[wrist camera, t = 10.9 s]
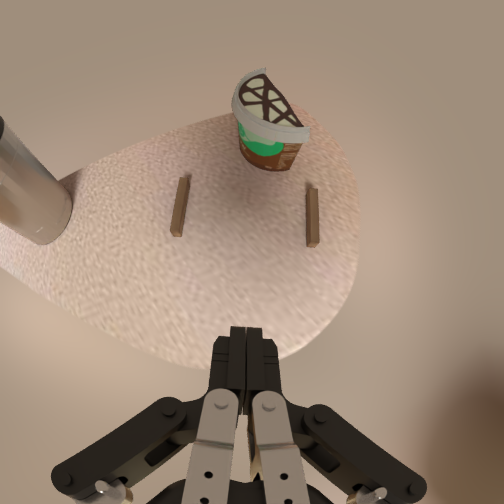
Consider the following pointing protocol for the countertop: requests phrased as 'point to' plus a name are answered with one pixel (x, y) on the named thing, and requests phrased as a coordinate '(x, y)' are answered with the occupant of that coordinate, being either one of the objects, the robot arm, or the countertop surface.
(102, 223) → the countertop surface
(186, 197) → the slot rails
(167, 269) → the countertop surface
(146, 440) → the robot arm
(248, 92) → the food container
